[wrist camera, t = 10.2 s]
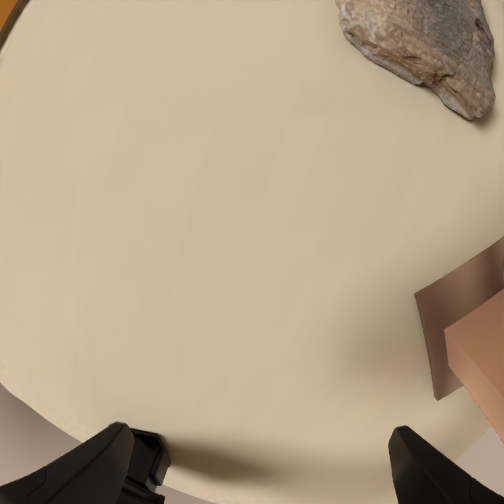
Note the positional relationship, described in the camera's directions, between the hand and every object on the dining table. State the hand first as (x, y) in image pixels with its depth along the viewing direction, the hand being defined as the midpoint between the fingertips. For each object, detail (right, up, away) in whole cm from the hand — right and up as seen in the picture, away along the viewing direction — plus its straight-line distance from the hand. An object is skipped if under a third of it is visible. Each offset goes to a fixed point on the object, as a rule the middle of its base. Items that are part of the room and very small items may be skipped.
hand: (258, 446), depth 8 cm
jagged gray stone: (+14, +27, +6) cm, 31 cm away
